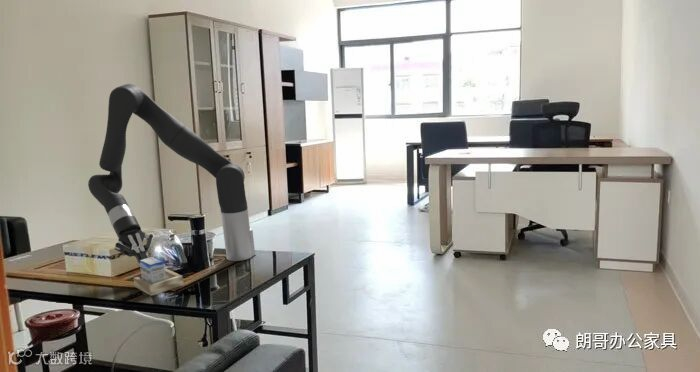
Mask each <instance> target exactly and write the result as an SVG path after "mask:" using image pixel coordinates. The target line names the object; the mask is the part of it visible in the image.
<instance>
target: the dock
mask: <svg viewBox="0 0 700 372" xmlns="http://www.w3.org/2000/svg"><path fill="white" fill-rule="evenodd" d="M164 269H165V276H166V280H164V281H160V282H157V283H154V284H151V283H149V282H147V281H145V280H143V279H142V277H139V276H134V277H133V283H134V284H133V286H134V287H135V288H136V289H138V290H139V291H141V292H144V293H145V294H148V295H149V296H152V297H153V296H155V295H158V294H160V293H164V292H167V291H169V290H173V289H177V288H178V287H182V286H184V278H183V275H182V274H179V273H177V272H175V271H172V270H170V269H168V268H166V267H164Z"/></svg>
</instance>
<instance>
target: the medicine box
mask: <svg viewBox="0 0 700 372" xmlns="http://www.w3.org/2000/svg"><path fill="white" fill-rule="evenodd" d="M139 266H140V267H139V268H140V273H141V274H140V276H141V279H143V280H145V281H147V282H149V283H151V284H154V283H157V282H160V281H164V280H166V276H165V269H164V268H165V262H164V261H163V260H160V259H157V258H155V257H153V256H152V257H148V258H146V259H143V260H140V264H139Z"/></svg>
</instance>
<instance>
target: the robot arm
mask: <svg viewBox="0 0 700 372" xmlns="http://www.w3.org/2000/svg"><path fill="white" fill-rule="evenodd" d="M107 111H108V112H107V113H108V114H107V124H106V131H105V137H104V142H103V146H102V150H101V154H100V158H99V163H98V165H99V167H100V169H102V170H104V171H106V172H109V174H93V175H91V177H90V178H89V180H88V182H87V183H88V185H87V186H88V190H89V191H90V193H91V195H92V196H93V197H94V199H96V200H97V201H98V202H99V204H100V205H101V206H103V207H104V210H105V212H106V214H107V216H108V219H109V222H110V224H111V226H112V228H113V230H114V232H115V234H116V236H117V238H118V240H117V241H118V242H116V243H115V245H114V250H115V251H117V252H119V253H121V254H123V255H125V256H127V257H128V258H131V257H135V258H136V260H137V262H138V264H139V265H140V260H143V259H146V258H149V257H148V255H147V253H148V252H149V249H150V246H151V243H152V240H153V237H154V235H153V234H151V233H150V234H146V233H145V231H144V230H142V228H141V225H140V224H139V222H138V220H137V218H136V216H135V214H134V212H133V210H132V209H131V208H130V206H129V204H128V203H127V200H126V199H125V197H124V196H123V194H121V193H120V191H121V190H122V187H123V176H122V175H123V173H122V172H123V171H122V168H123V167H122V165H123V162H124V158H125V154H126V150H127V149H126V147H127V139H126V137H127V128H128V125H129V122H130V120H131V118H132V115H133V114H134V115H136V116H137V117H138V118H140V119H141V120H143V121H144V122H146V123H147V125H149V126H150V128H151V129H152V130H153V131H154V133H155V134H156V135H157V137H158V138H159V140H160V141H161V142H162V143H163V144H164V145H165V146H167V148H169V149H170V150H172V151H173V152H174V153H175V154H177V155H178V156H180V157H181V158H184V159H185V160H187V161H189V162H191V163H194V164H195V165H198V166H200V167H201V168H202V169H204V170H206V171H207V172H208V173H209V174H210V175H212V176H213V177H214V178H215V187H216V192H217V199H218V205H219V208H220V216H221V223H222V230H223V241H224V248H225V257H226V260H227V261H229V262H240V261H245V260H249V259H251V258H253V257H254V256H256V249H255V248H256V247H255V241H254V239H255V238H254V232H253V229H252V228H250V227H251V226H250V225H251V224H250V218H249V209H248V202H247V197H246V190H245V178H246V177H245V172H244V170H243V169H242V167H240V166H239V165H238V164H237V163H234V162H233V161H232V160H231V159H228V158H227V157H225V156H223V155H222V154H220V153H219V152H218V151H216V150H215V149H214V148H213V147H212V146H210V145H209V144H208V143H207V142H206V141H205V140H204V139H203V138H202V137H200V136H199V135H197V134H196V132H194V131H193V130H192V129H191V128H189V127H188V126H186V125H185V124H184V123H183V122H181V121H180V120H178V119H177V118H176V117H174V116H173V115H172V114H171V113H169V112H168V111H166V110H165V109H164V108H162V107H161V106H160V105H158V103H156V102H155V101H154V100H153V99H152V98H151V97H150V96H149V95H148V94H147V93H146V92H144V90H142V88H140V87H139V86H137V85H135V84H131V83H127V84H123V85H120V86H118V87H115V88H114V89H112V90H111V92H110V94H109V96H108V110H107ZM144 240H145V243H146V244H145V246H144Z"/></svg>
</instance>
